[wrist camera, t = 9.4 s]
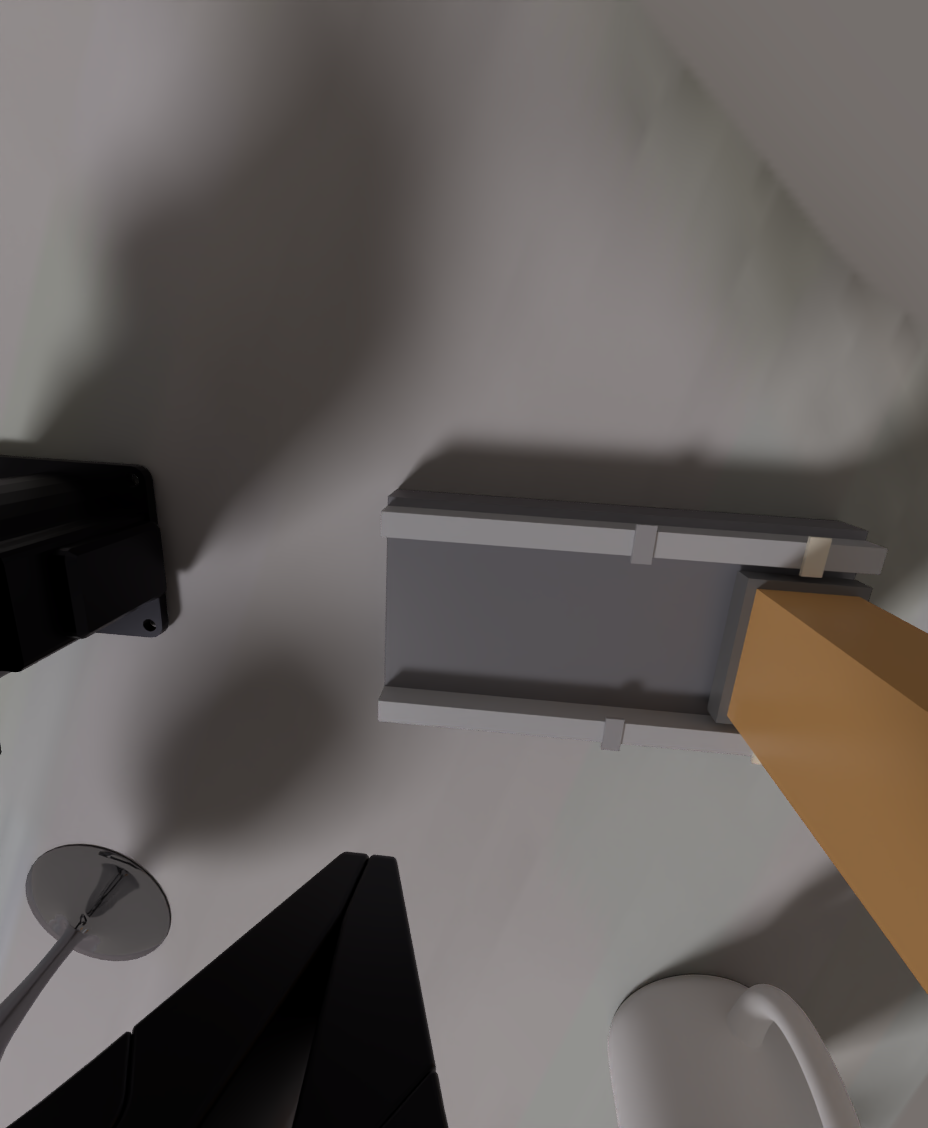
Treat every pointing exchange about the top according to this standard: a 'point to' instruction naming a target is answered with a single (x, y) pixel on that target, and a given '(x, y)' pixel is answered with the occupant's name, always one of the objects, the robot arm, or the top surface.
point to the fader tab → (839, 732)
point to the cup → (721, 1059)
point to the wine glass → (86, 917)
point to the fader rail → (579, 612)
